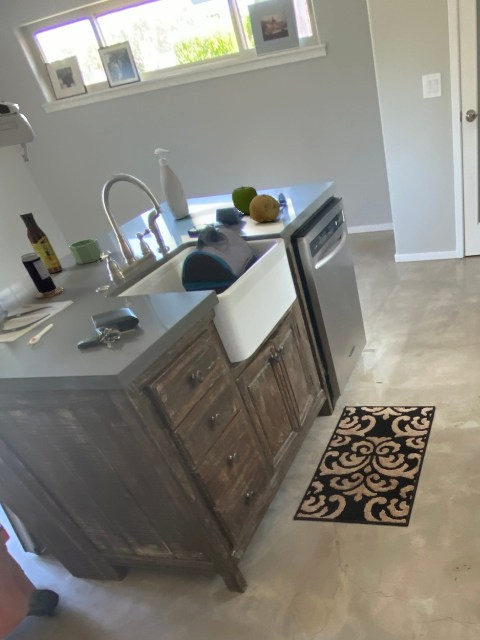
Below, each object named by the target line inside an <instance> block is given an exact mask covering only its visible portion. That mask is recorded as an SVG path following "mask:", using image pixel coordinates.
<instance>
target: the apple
mask: <svg viewBox="0 0 480 640" xmlns="http://www.w3.org/2000/svg"><path fill="white" fill-rule="evenodd" d="M258 195H259V194H258V191H257V190H256V188H255V187H254V186H243V185H241V186H240V187H239V186H238V187H236V188H234V189H233V190H232V192H231V200H232V204H233V206H234V208H237V209H238V210H239V211H241V212H242V213H244V214H242V215H243V216H244V215H245V216H246V215H250V204H251V201H252V200H253V199H254V198H255V197H256V196H258Z"/></svg>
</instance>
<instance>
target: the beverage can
mask: <svg viewBox="0 0 480 640" xmlns="http://www.w3.org/2000/svg"><path fill="white" fill-rule="evenodd" d="M20 258H21V263H22V264H23V266H24V268H25V270H26V272H27V273H28V275H29V277H30V279H31V281H32V283H33V285H34V286H35V288H36V289H37V290H36V291H38V293H39V292H40V293H42V294H44V295H45V294H50V293H53V292H55V289H56V287H57V285H56V284H55V282H54V280H53V278H52V275H50V274H51V273H50V274H49V273H48V271H47V269H46V267H45V265H44V263H43V261H42V259H41V258H40V256H39V255H37V253H35V252H30V253H25V254H23V255H21V256H20Z"/></svg>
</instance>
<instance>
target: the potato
mask: <svg viewBox="0 0 480 640" xmlns="http://www.w3.org/2000/svg"><path fill="white" fill-rule="evenodd" d="M257 195H258V196H256V197H255V198H254V199H253V200H252V201H251V204H250V214H249V215H250V217H251V219H252V220H253V221H254V222H256V223H262V222H274V221H276V220H277V219H278V218H279V216H280V212H281V207H280V206H281V205H280V203H279V201H278V200H277V199H275V197H273V196H272V195H269V194H265V193H263V194H257Z"/></svg>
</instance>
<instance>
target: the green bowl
mask: <svg viewBox="0 0 480 640" xmlns="http://www.w3.org/2000/svg"><path fill="white" fill-rule="evenodd" d="M68 248H69V250H70V252H71V253H72V256H73V258H74V260H75V262H76V264H80V265H81V264H83V265H84V264H88V263H94V262H96V261H99V260H100V259H99V258H100V254H101V253H103V251H102V249H101V246H100V244H99V242H98V240H97V239H96V238H87V239H83V240H78V241H75V242H73V243H71V244H70V245H69V246H68Z"/></svg>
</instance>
